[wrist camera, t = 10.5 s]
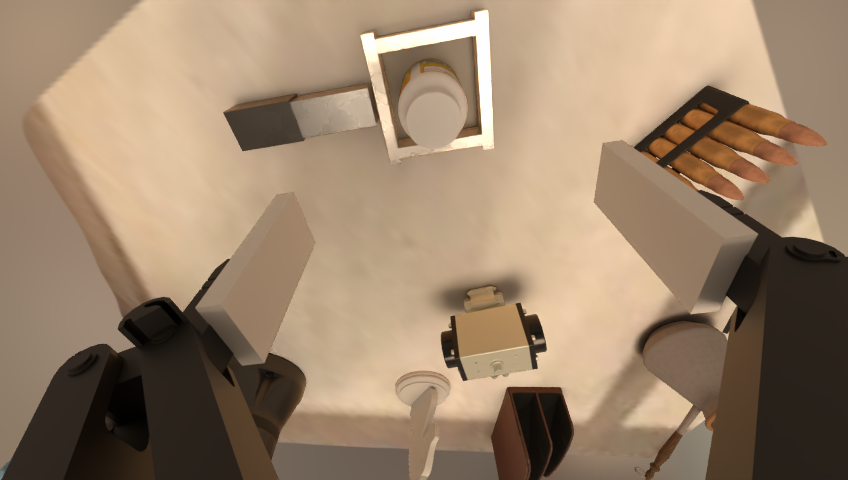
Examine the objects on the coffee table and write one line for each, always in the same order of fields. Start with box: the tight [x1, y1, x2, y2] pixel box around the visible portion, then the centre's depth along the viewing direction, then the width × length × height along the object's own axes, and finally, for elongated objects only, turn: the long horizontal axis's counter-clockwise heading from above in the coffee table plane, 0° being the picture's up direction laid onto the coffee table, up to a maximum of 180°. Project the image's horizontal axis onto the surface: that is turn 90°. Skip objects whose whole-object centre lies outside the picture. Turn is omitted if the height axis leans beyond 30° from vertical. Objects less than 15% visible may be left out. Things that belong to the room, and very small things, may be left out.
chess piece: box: [396, 371, 450, 480], centre depth 54 cm, size 10×10×15 cm
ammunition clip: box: [634, 86, 827, 200], centre depth 29 cm, size 11×2×12 cm, turn 142°
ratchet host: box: [223, 9, 494, 165], centre depth 31 cm, size 24×11×3 cm, turn 99°
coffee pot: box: [635, 321, 728, 480], centre depth 49 cm, size 21×12×15 cm, turn 151°
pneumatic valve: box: [441, 286, 547, 381], centre depth 42 cm, size 6×12×12 cm, turn 106°
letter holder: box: [491, 387, 574, 480], centre depth 61 cm, size 10×20×14 cm, turn 178°
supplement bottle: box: [398, 59, 468, 149], centre depth 27 cm, size 5×5×10 cm
